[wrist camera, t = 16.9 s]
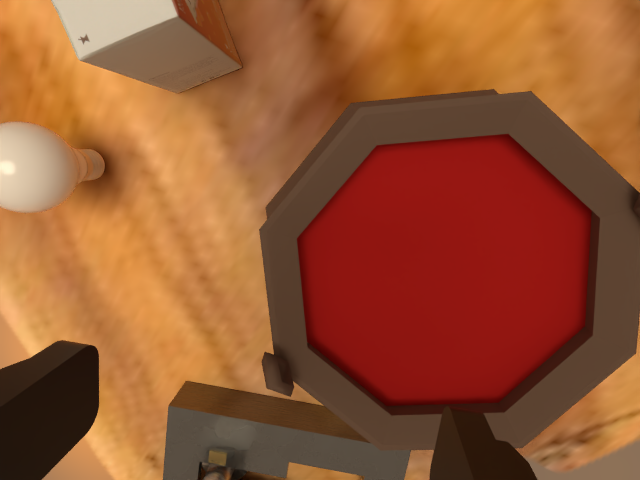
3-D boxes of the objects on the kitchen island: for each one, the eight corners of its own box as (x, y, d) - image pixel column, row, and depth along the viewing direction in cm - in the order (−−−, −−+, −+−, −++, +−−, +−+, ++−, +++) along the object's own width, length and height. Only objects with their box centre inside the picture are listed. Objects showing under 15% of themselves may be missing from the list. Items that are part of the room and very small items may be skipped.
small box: (245, 68, 34) (180, 18, 21) (177, 95, 34) (75, 63, 22) (208, -35, 32) (114, -155, 19) (138, -4, 33) (5, -99, 20)
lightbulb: (143, 164, 36) (55, 170, 25) (100, 213, 37) (-1, 239, 27) (88, 111, 35) (-26, 95, 25) (47, 164, 37) (-78, 169, 26)
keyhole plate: (404, 421, 40) (411, 452, 35) (378, 535, 43) (381, 575, 39) (186, 381, 40) (167, 407, 36) (176, 495, 44) (158, 531, 40)
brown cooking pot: (350, 399, 40) (349, 566, 24) (228, 178, 36) (130, 201, 20) (595, 298, 36) (791, 418, 20) (488, 38, 32) (625, -74, 16)
